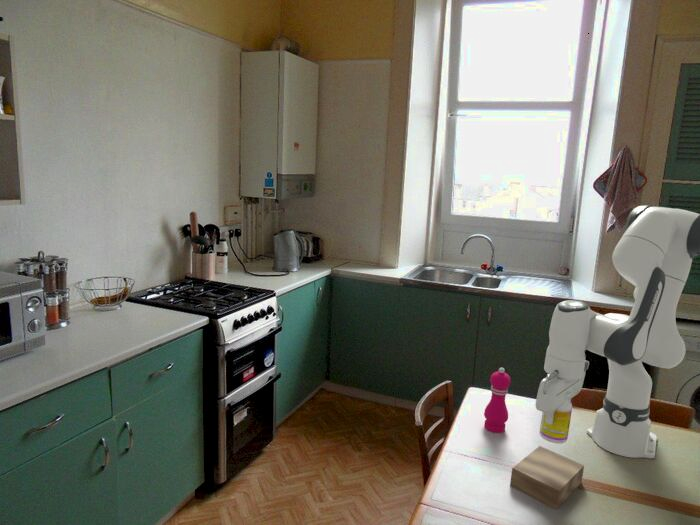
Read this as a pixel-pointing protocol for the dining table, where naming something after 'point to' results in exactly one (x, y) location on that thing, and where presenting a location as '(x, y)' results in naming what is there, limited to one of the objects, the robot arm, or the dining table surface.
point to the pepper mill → (497, 402)
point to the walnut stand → (547, 476)
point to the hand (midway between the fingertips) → (556, 417)
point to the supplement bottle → (558, 423)
